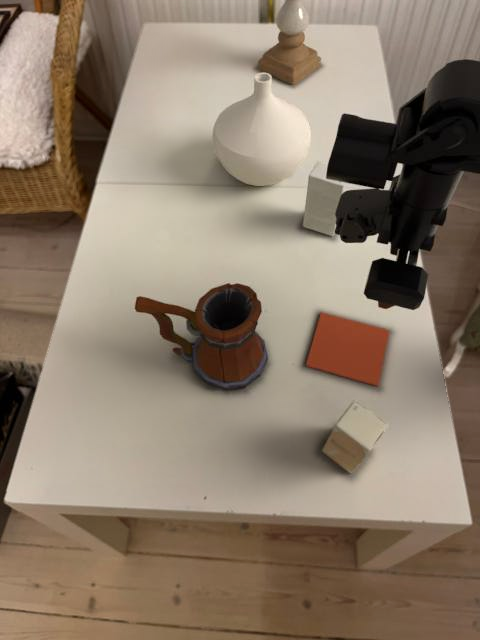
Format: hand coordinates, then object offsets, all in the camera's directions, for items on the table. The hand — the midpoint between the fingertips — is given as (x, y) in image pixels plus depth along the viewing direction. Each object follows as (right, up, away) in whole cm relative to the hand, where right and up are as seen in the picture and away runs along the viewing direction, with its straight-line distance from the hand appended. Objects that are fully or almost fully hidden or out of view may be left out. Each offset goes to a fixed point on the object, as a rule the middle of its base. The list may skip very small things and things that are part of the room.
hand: (388, 279), depth 65 cm
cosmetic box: (-5, +12, +25) cm, 28 cm away
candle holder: (-8, +55, +52) cm, 76 cm away
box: (-5, -24, +3) cm, 24 cm away
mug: (-24, -11, +11) cm, 29 cm away
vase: (-16, +25, +33) cm, 44 cm away
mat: (-3, -10, +11) cm, 15 cm away
